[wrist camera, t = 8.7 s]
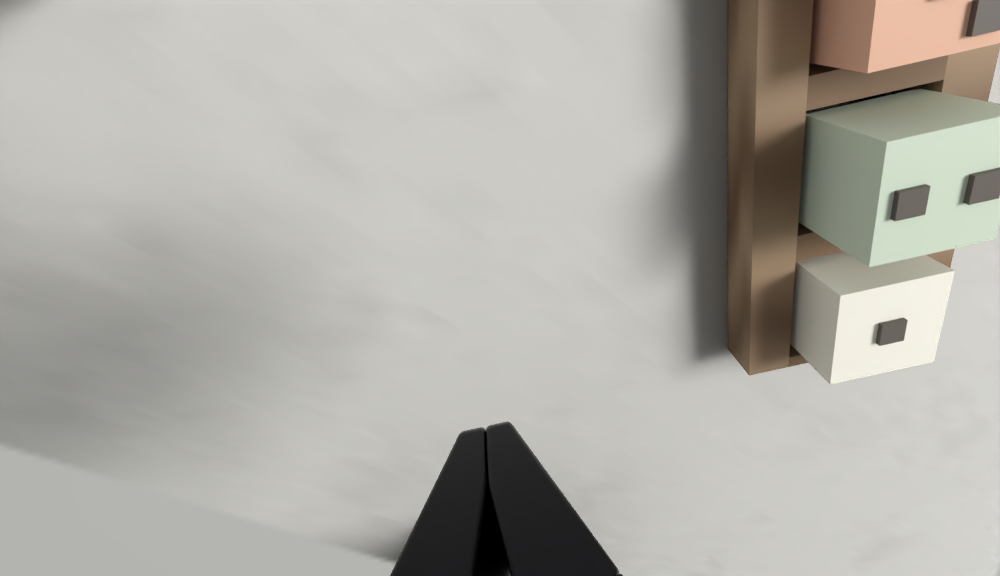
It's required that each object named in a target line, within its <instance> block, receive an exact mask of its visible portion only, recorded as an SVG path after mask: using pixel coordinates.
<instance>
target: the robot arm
mask: <svg viewBox="0 0 1000 576" xmlns="http://www.w3.org/2000/svg"><path fill="white" fill-rule="evenodd" d="M390 576H623V575H622V574H619V571H618V569H617V567H616V566H615V565H614V563H613V562H612V560H611V559H610V558H609V556H608V555H607V554H606V552H605V551H604V549H603V548H602V547H601V545H600V544H599V543H598V541H597V540H596V539H595V537H594V536H593V534H592V533H591V532H590V530H589V529H588V528H587V526H586V525H585V523H584V522H583V521H582V519H581V518H580V517H579V515H578V514H577V512H576V511H575V510H574V508H573V507H572V506H571V504H570V503H569V502H568V500H567V499H566V497H565V496H564V495H563V493H562V492H561V491H560V489H559V488H558V486H557V485H556V484H555V482H554V481H553V480H552V478H551V477H550V475H549V474H548V473H547V471H546V470H545V469H544V467H543V466H542V465H541V463H540V462H539V460H538V459H537V458H536V456H535V455H534V454H533V452H532V451H531V449H530V448H529V447H528V445H527V444H526V443H525V441H524V440H523V439H522V437H521V436H520V434H519V433H518V432H517V430H516V429H515V428H514V426H513V425H512V424H511V423H510V422H503V423H499V424H494V425H490V426H488V427H487V429H486V430H485V429H484V428H476V429H471V430H467V431H463V432H461V433H460V434H459V436H458V438H457V440H456V442H455V444H454V446H453V448H452V450H451V452H450V454H449V456H448V458H447V460H446V463H445V465H444V467H443V469H442V471H441V473H440V475H439V477H438V479H437V481H436V483H435V485H434V487H433V489H432V491H431V493H430V495H429V497H428V499H427V501H426V503H425V505H424V508H423V510H422V512H421V514H420V516H419V518H418V520H417V522H416V524H415V526H414V528H413V530H412V532H411V534H410V536H409V538H408V540H407V542H406V544H405V546H404V548H403V550H402V552H401V555H400V557H399V559H398V561H397V563H396V565H395V567H394V569H393V571H392V573H391V575H390Z"/></svg>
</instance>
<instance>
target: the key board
mask: <svg viewBox="0 0 1000 576" xmlns="http://www.w3.org/2000/svg"><path fill="white" fill-rule="evenodd" d="M813 3H814V0H728V350H729V351H730V352H731V353H732V355H733V356H734V357H735V358H736V360H737V361H738V362H739V363H740V365H741V366H742V367H743V368H744V370H745V371H746V372H747V373H748V375H753V374H758V373H762V372H767V371H771V370H776V369H781V368H785V367H790V366H794V365H799V364H804V363H808V361H807V360H806V359H805V358H804V357H803V356H802V355H801V354H800V353H799V352H798V351H797V350H796V349H795V348H794V347H793V346H792V345H791V344H790V336H791V322H792V307H793V293H794V278H795V264H796V262H798V261H802V260H807V259H811V258H816V257H820V256H825V255H829V254H834V253H838V252H843V250H841V249H840V248H838V247H836V246H835V245H833V244H832V243H830V242H829V241H827V240H826V239H824V238H822V237H821V236H819V235H818V234H816V233H815V232H813V231H812V230H810V229H808V228H807V227H805V226H804V225H802V224H801V223H799V222H798V220H799V206H800V191H801V177H802V162H803V148H804V133H805V119H806V111H808V110H813V109H817V108H821V107H826V106H830V105H835V104H839V103H843V102H848V101H852V100H857V99H861V98H865V97H870V96H874V95H879V94H883V93H887V92H892V91H896V90H897V92H896V94H897V93H901V92H905V91H910V90H914V89H919V88H920V89H925V90H931V91H936V92H941V93H946V94H951V95H956V96H961V97H967V98H972V99H977V100H982V101H987V102H988V98H989V94H990V89H991V85H992V80H993V76H994V71H995V67H996V63H997V58H998V54H999V49H1000V43H998V44H994V45H990V46H985V47H981V48H976V49H972V50H968V51H963V52H959V53H955V54H950V55H946V56H941V57H937V58H933V59H928V60H924V61H920V62H915V63H911V64H906V65H902V66H898V67H893V68H889V69H885V70H880V71H876V72H871V73H862V72H857V71H851V70H846V69H840V68H835V67H829V66H824V65H819V64H813V63H809V61H810V47H811V32H812V18H813ZM953 253H954V249H950V250H945V251H941V252H936V253H932V254H927V256H929V257H931V258H933V259H934V260H936V261H938V262H940V263H942V264H944V265H946V266H947V267H949V268H950V266H951V261H952V257H953Z"/></svg>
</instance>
